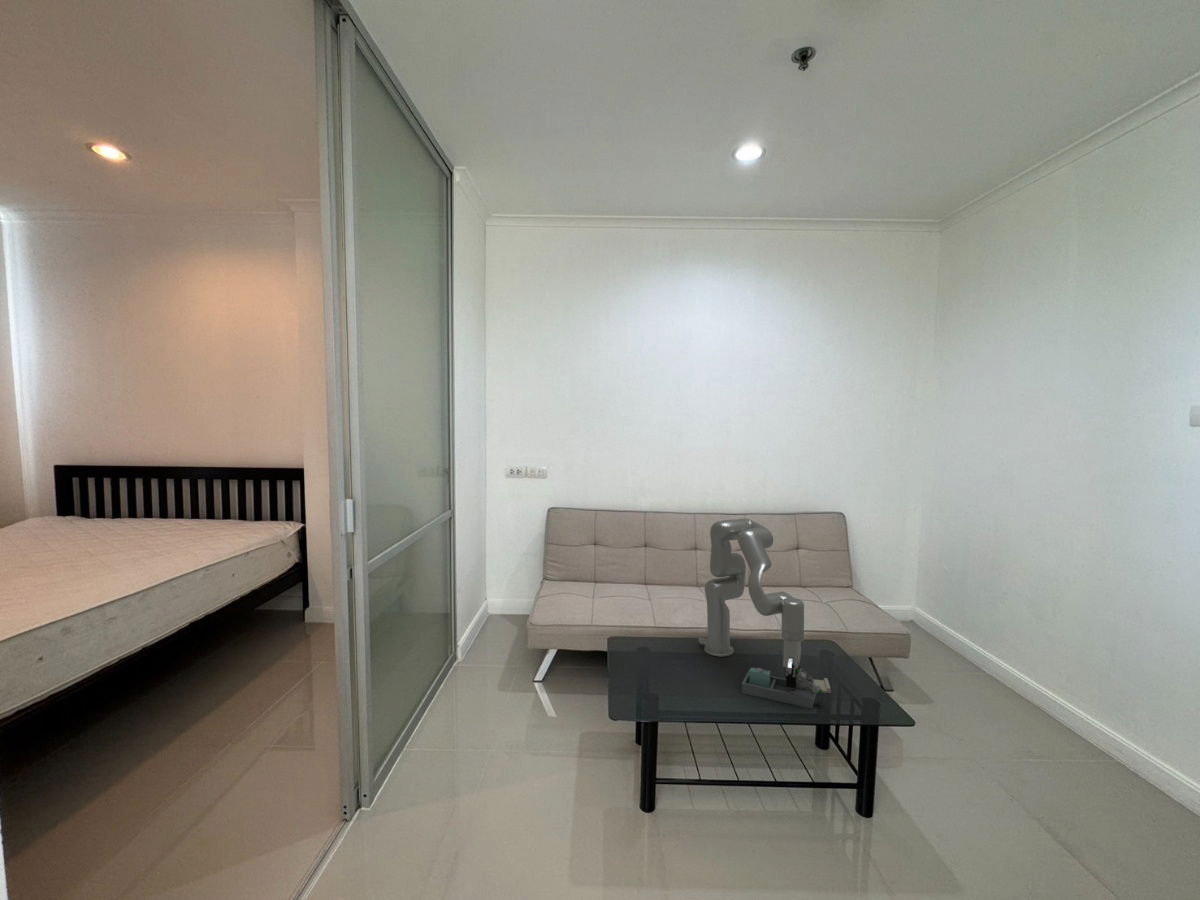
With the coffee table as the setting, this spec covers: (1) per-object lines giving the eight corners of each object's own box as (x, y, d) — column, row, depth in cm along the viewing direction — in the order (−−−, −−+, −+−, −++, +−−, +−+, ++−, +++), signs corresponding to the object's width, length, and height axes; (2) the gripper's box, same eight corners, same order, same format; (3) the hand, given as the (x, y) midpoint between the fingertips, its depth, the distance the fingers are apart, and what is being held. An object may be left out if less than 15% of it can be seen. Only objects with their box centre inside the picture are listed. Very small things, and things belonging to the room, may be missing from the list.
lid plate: (801, 689, 186) (801, 685, 186) (799, 679, 194) (798, 675, 193) (830, 693, 183) (830, 688, 183) (827, 682, 191) (827, 678, 191)
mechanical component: (802, 702, 179) (821, 693, 173) (779, 681, 181) (797, 672, 174) (804, 695, 182) (823, 687, 175) (781, 675, 183) (799, 666, 177)
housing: (741, 693, 184) (741, 672, 184) (748, 680, 194) (748, 660, 194) (812, 709, 173) (812, 687, 173) (815, 694, 183) (815, 673, 182)
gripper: (785, 623, 190) (785, 668, 190) (777, 640, 175) (778, 689, 175) (806, 627, 186) (806, 673, 187) (801, 644, 171) (801, 694, 171)
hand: (792, 680), depth 181 cm, fingers open, 9 cm apart
